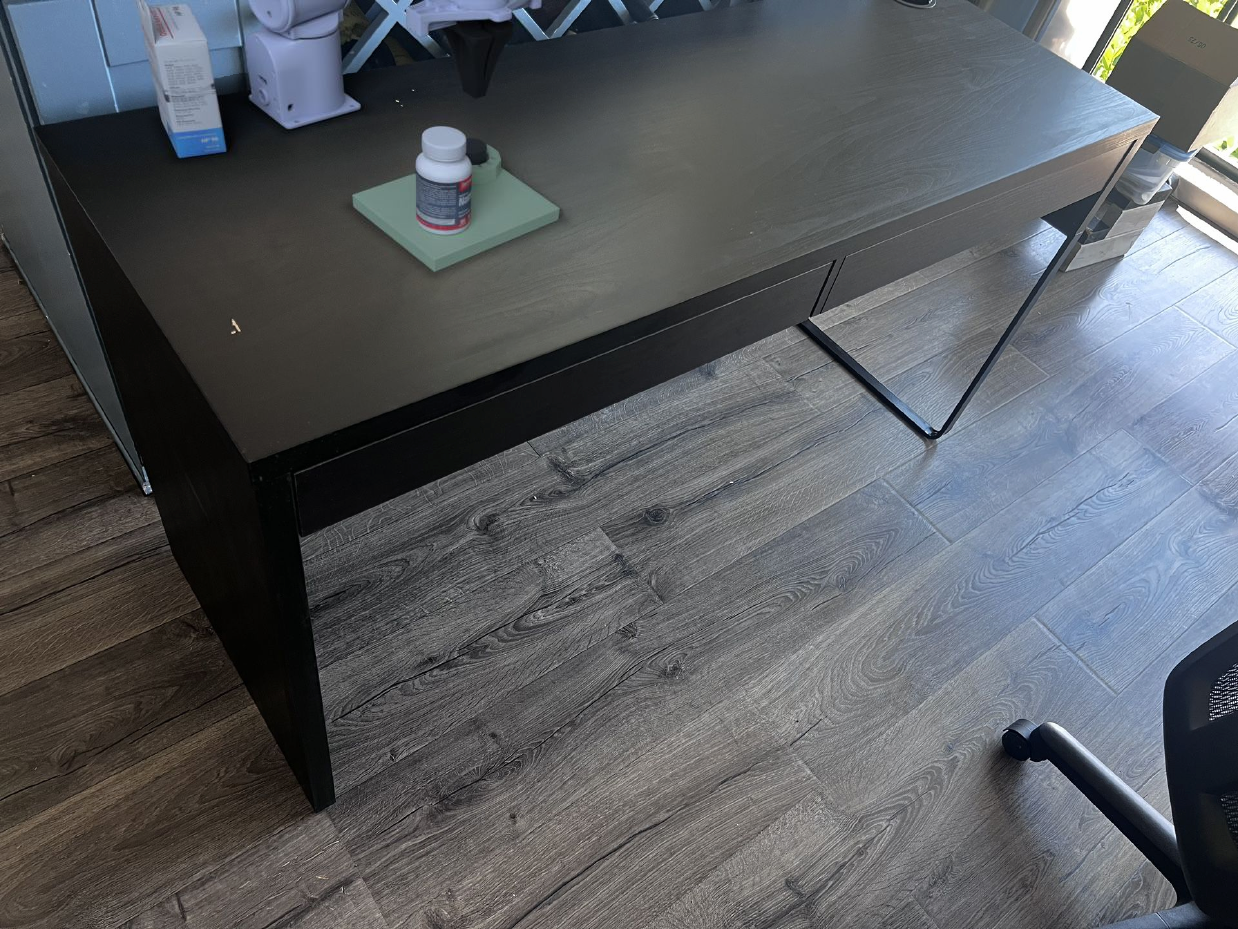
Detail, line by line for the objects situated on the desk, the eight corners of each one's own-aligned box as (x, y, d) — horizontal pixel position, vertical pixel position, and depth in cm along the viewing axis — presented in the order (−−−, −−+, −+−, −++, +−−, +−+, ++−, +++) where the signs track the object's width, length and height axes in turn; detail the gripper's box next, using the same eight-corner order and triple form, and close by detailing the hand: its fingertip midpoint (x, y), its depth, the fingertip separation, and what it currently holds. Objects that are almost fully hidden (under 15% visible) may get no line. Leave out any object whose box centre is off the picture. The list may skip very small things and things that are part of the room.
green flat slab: (434, 272, 88) (434, 245, 86) (350, 204, 94) (348, 177, 92) (558, 220, 97) (561, 194, 95) (475, 161, 103) (476, 135, 101)
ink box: (229, 153, 97) (204, 6, 86) (178, 159, 95) (145, 10, 84) (209, 113, 102) (182, -31, 91) (159, 118, 99) (126, -28, 89)
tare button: (469, 169, 97) (470, 155, 95) (451, 156, 98) (451, 142, 97) (492, 161, 98) (492, 147, 97) (473, 148, 99) (474, 134, 98)
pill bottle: (466, 240, 90) (469, 155, 84) (411, 232, 90) (410, 147, 83) (473, 210, 94) (476, 126, 87) (420, 202, 93) (419, 118, 87)
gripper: (441, -25, 77) (440, 129, 87) (569, -51, 85) (555, 92, 95) (389, -56, 80) (394, 97, 90) (517, -78, 88) (509, 64, 98)
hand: (474, 93), depth 93 cm, fingers closed
